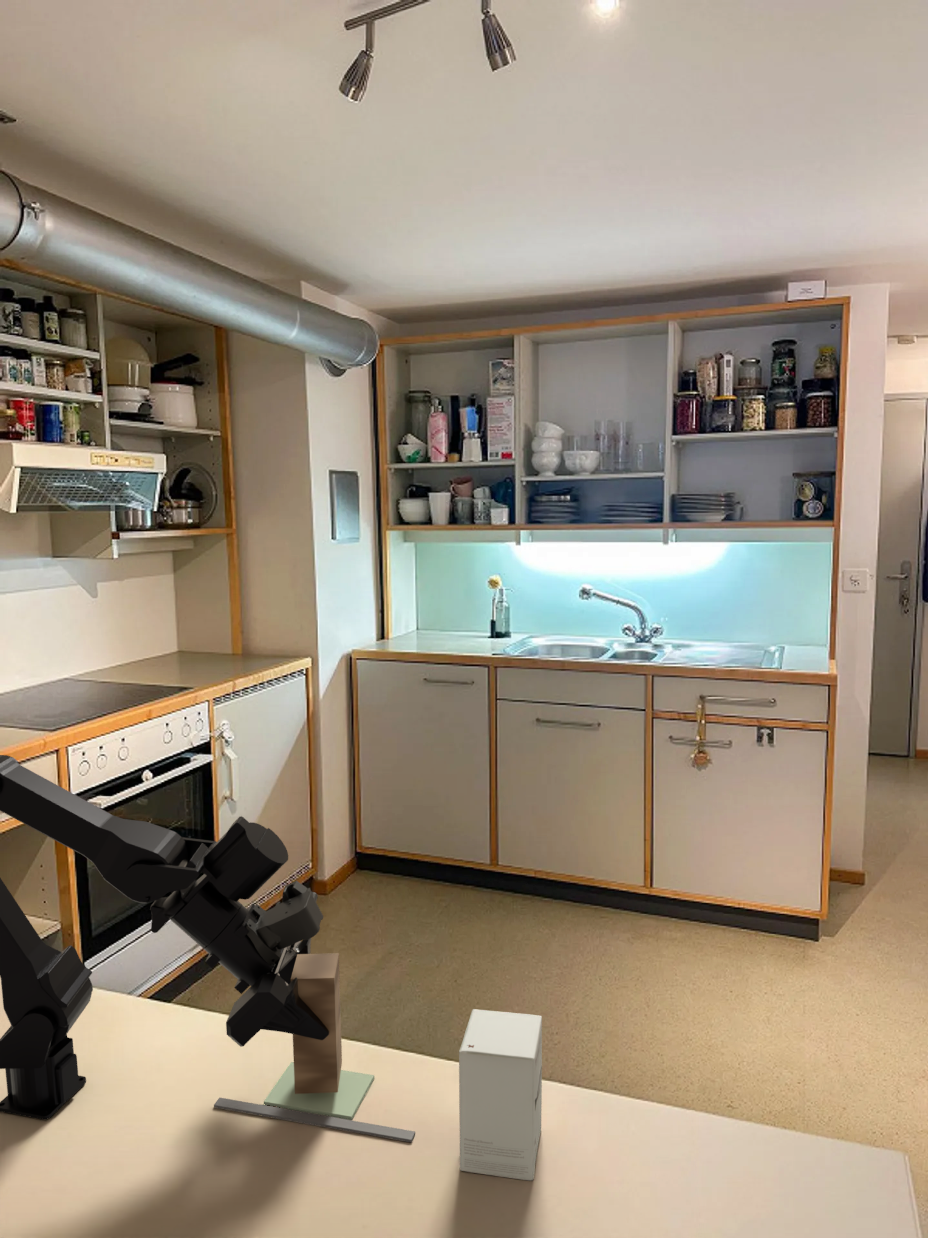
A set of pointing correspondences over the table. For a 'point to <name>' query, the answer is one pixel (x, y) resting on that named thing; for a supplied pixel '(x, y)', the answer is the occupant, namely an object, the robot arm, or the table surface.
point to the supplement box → (500, 1094)
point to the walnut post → (322, 995)
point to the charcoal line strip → (315, 1119)
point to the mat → (322, 1095)
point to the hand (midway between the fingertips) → (329, 1021)
